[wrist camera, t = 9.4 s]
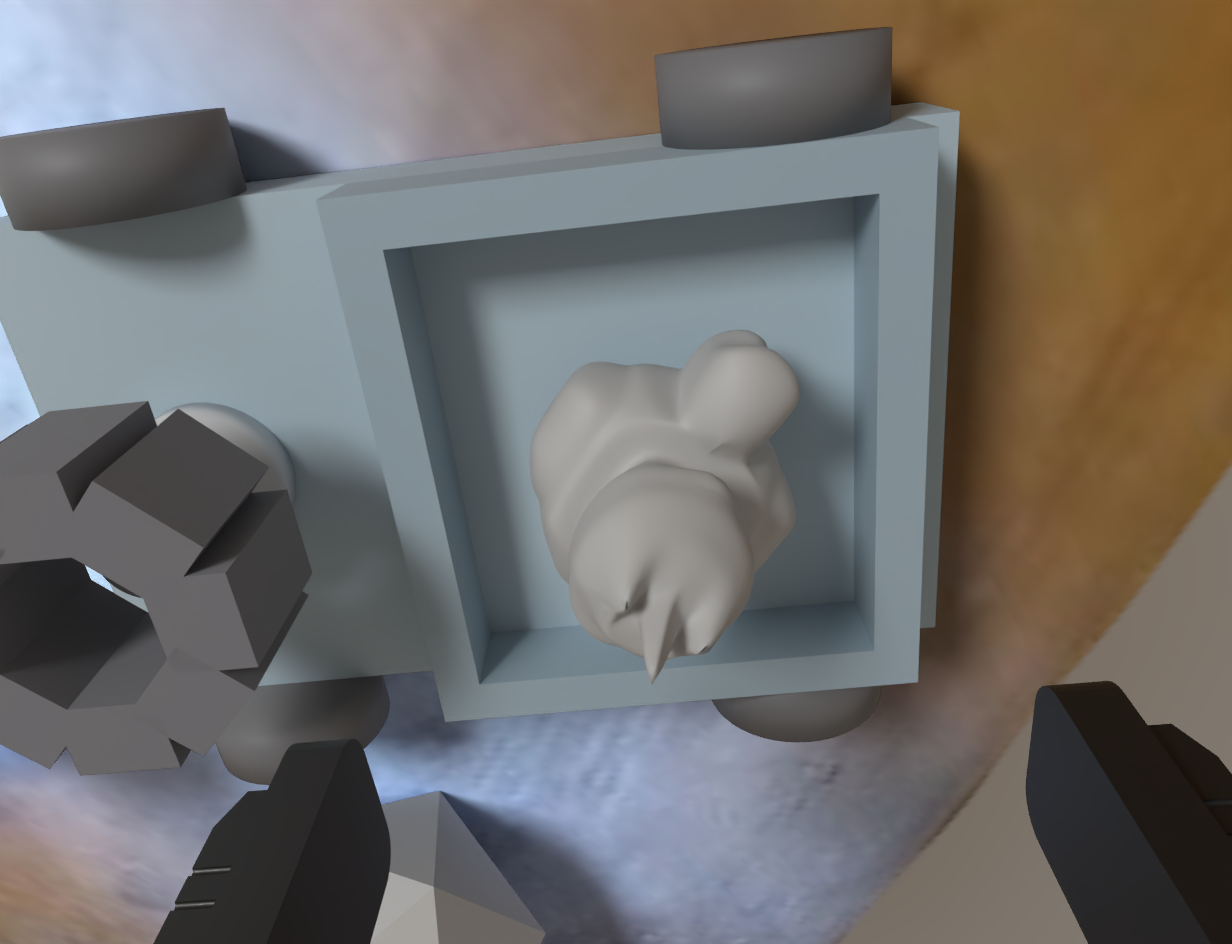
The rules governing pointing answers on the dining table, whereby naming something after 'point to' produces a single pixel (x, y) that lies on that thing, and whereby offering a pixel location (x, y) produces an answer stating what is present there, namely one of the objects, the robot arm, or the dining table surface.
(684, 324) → the chassis
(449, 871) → the die
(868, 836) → the dining table surface
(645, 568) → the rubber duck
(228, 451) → the spare wheel
